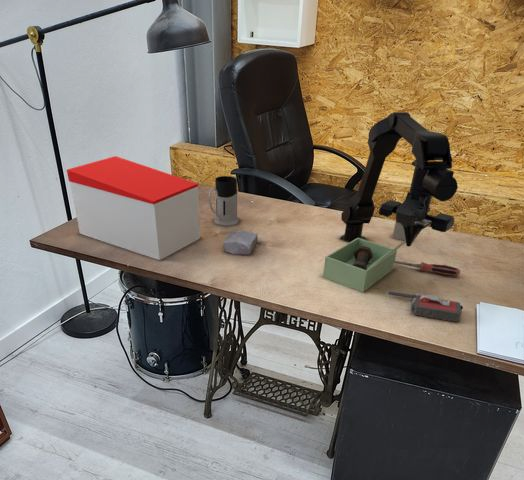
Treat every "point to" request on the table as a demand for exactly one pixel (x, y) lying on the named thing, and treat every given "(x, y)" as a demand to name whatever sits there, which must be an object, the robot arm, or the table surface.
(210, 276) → the table surface
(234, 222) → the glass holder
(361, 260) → the bolt
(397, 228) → the power adapter
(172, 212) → the red-lidded white box
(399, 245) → the flap
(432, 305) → the walkie-talkie
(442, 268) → the screwdriver
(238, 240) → the stone block
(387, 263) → the carton
